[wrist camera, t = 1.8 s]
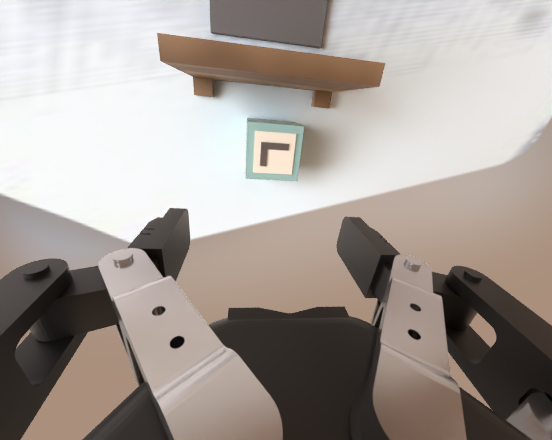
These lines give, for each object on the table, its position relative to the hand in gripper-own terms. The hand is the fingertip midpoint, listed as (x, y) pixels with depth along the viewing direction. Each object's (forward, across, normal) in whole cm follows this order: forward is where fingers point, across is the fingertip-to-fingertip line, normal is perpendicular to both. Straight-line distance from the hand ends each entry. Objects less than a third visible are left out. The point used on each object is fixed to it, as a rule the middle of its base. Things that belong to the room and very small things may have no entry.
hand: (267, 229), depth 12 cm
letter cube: (+21, -2, -1) cm, 21 cm away
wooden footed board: (+21, -1, -9) cm, 23 cm away
